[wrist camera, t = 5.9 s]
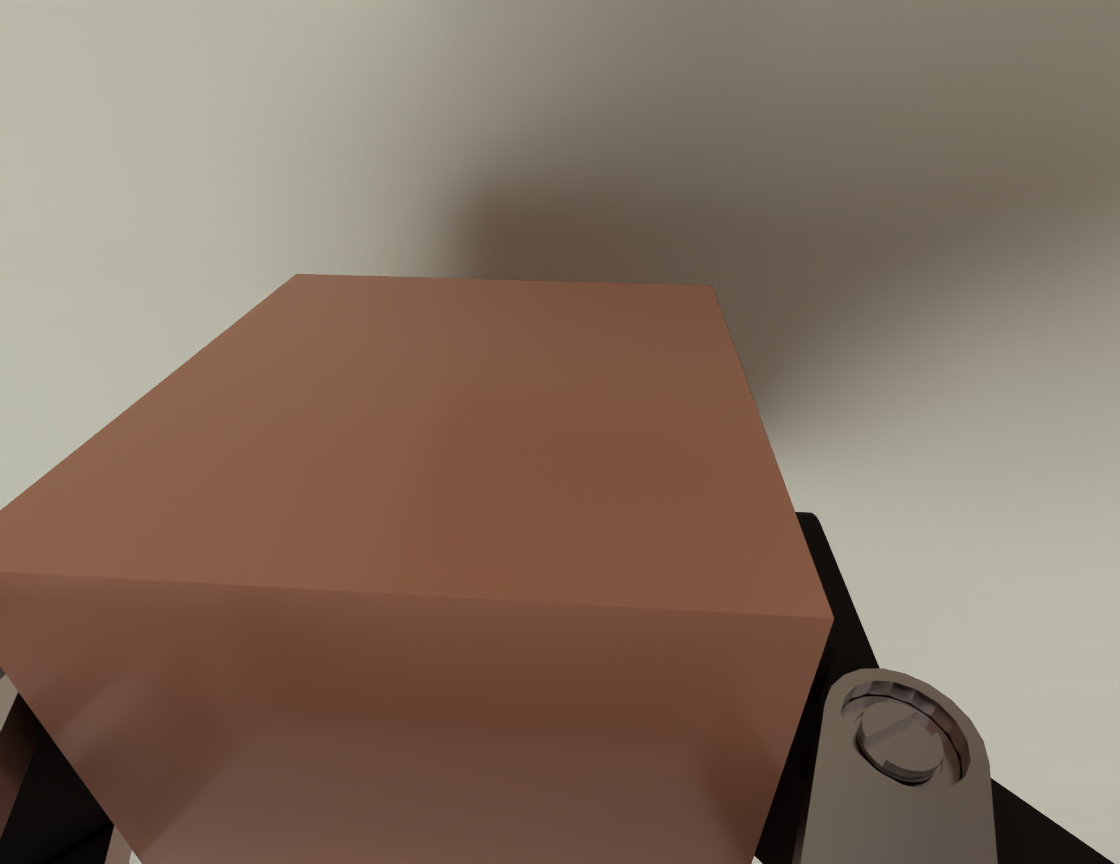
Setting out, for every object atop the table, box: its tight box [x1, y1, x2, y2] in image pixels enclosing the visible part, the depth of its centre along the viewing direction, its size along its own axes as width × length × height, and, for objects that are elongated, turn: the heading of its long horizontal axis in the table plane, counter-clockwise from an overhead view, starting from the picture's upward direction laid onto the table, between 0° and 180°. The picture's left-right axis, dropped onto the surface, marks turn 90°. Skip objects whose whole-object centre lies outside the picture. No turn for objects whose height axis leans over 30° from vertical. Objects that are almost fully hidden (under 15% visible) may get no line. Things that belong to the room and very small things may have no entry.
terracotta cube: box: [0, 274, 834, 864], centre depth 8 cm, size 6×6×6 cm
